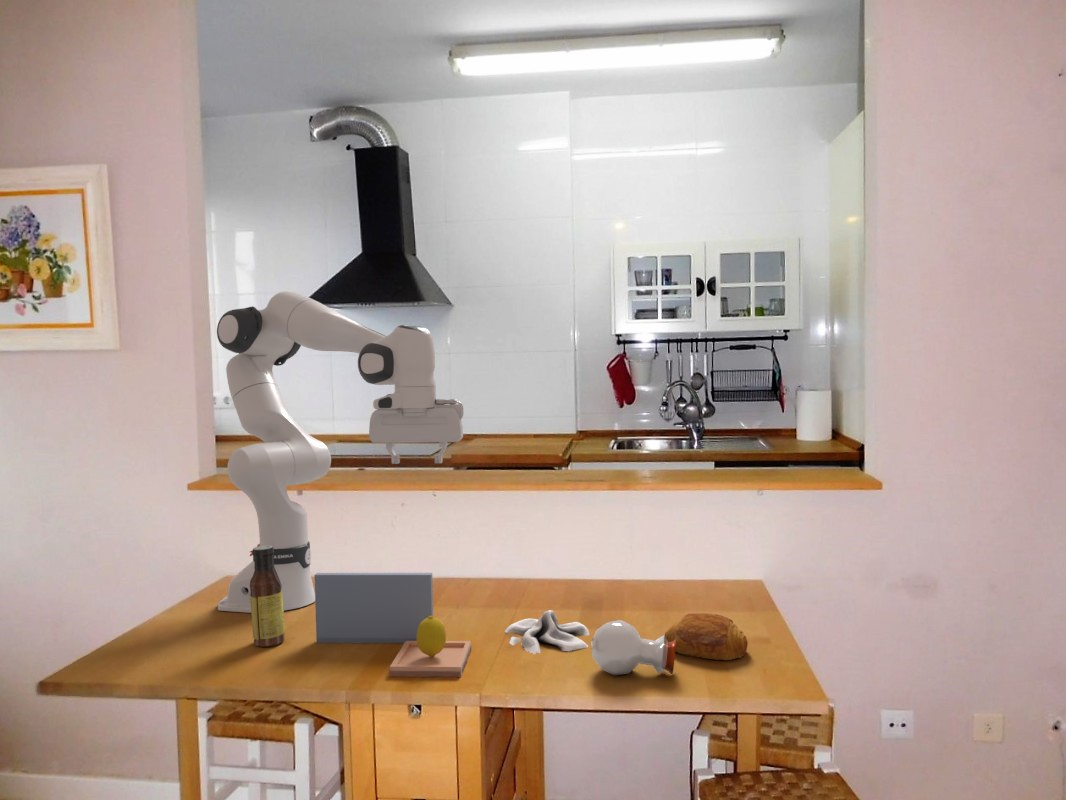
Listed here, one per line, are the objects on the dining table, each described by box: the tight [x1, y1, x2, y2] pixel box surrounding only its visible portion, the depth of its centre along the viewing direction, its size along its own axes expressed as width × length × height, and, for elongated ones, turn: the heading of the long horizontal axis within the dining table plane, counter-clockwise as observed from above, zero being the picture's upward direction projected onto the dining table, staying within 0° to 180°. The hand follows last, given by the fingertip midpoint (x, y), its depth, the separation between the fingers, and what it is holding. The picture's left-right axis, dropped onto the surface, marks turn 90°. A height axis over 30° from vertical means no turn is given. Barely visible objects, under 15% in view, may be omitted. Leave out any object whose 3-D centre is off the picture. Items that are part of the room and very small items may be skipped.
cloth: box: [504, 609, 590, 655], centre depth 156 cm, size 22×19×6 cm
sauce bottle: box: [250, 545, 286, 648], centre depth 156 cm, size 7×6×20 cm
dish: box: [389, 640, 472, 678], centre depth 145 cm, size 13×13×2 cm
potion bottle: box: [590, 619, 676, 676], centre depth 138 cm, size 9×10×15 cm
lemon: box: [417, 615, 447, 658], centre depth 144 cm, size 6×6×8 cm
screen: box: [314, 572, 434, 644], centre depth 158 cm, size 24×5×14 cm, turn 86°
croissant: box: [664, 612, 749, 661], centre depth 149 cm, size 14×16×8 cm
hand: (417, 463), depth 166 cm, fingers open, 8 cm apart
